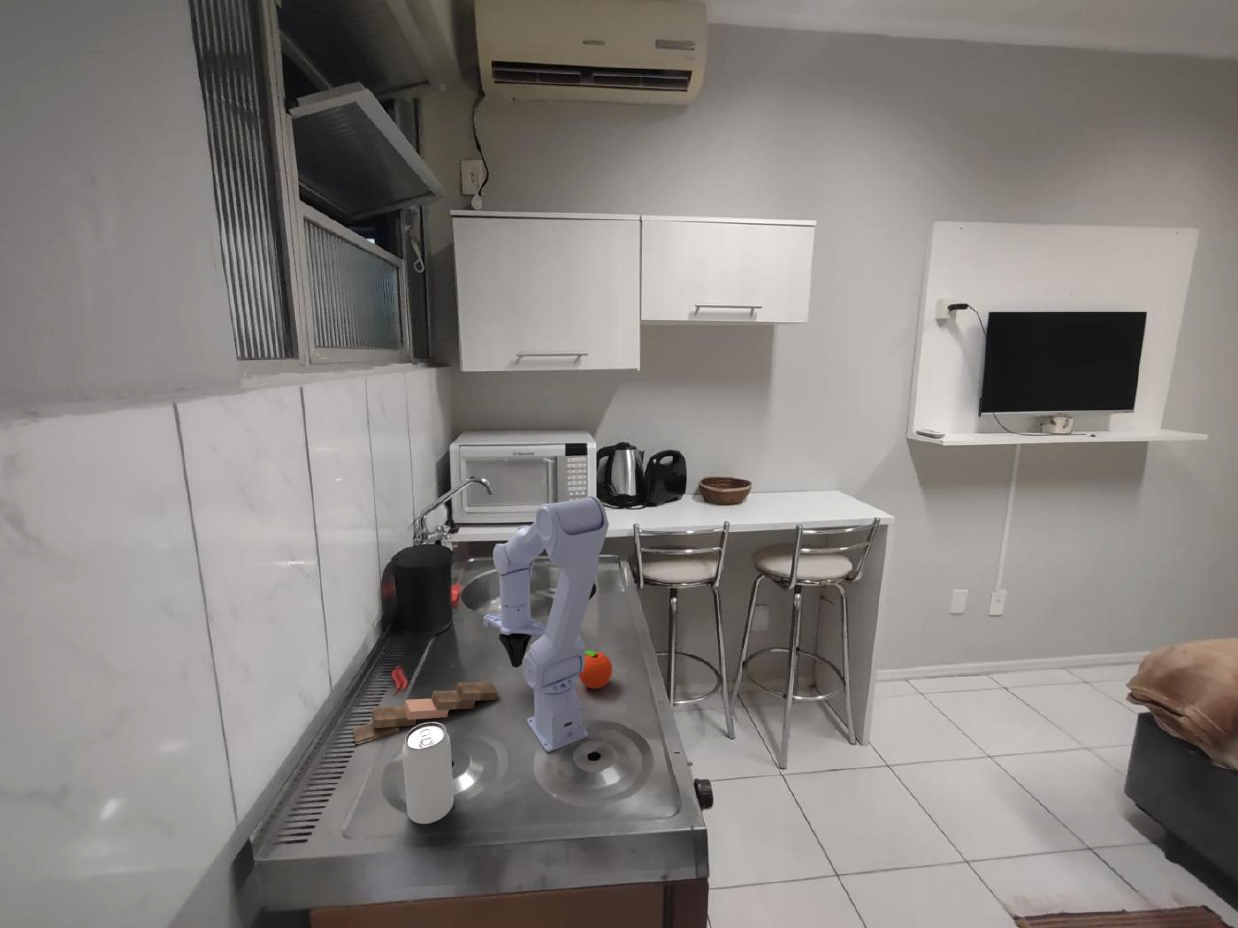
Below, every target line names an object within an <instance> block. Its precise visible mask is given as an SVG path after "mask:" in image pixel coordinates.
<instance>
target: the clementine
mask: <svg viewBox="0 0 1238 928" xmlns="http://www.w3.org/2000/svg"><path fill="white" fill-rule="evenodd" d="M612 674H613V665H612V662H611V661H610V658H608V656H607V655H606V654H605V653H602V652H599V651H594V650H586V651H585V665H584V670H583V671H582V672H581V673H579V674H578V679H580V682H581V683H582V684H583V686H585V687H587V688H590V689H601V688H603V687H604V686H606V685H607V684H608V682H609V681H610V680H611V677H612Z"/></svg>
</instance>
